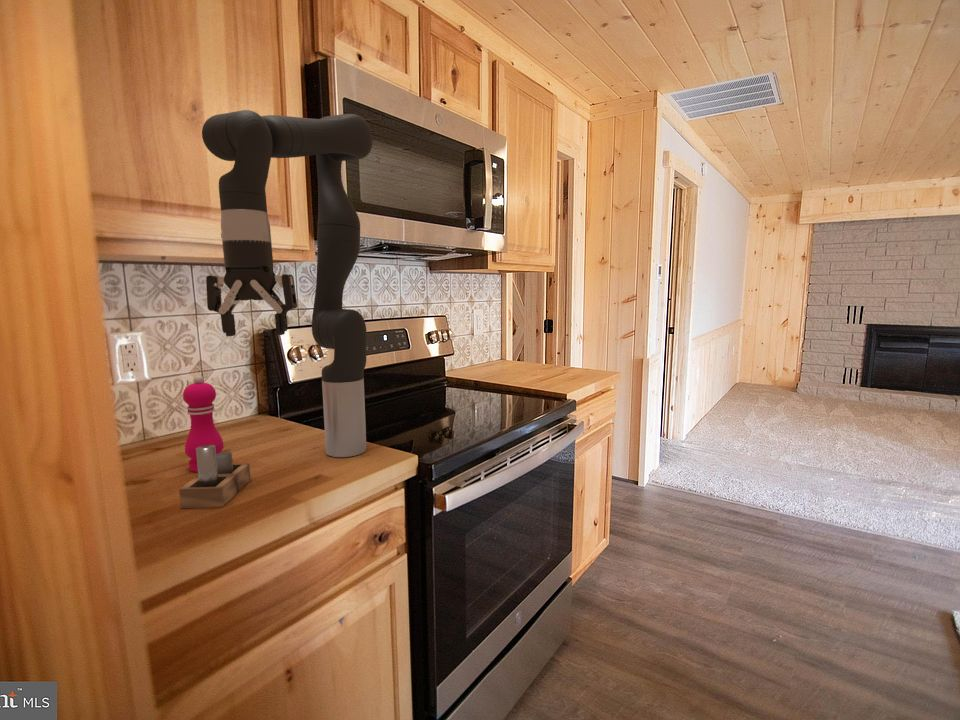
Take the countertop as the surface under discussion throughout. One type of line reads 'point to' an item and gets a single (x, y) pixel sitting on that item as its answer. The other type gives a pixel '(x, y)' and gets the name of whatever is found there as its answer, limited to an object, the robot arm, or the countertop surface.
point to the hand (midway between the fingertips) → (255, 335)
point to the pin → (207, 466)
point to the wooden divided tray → (228, 487)
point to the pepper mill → (200, 419)
